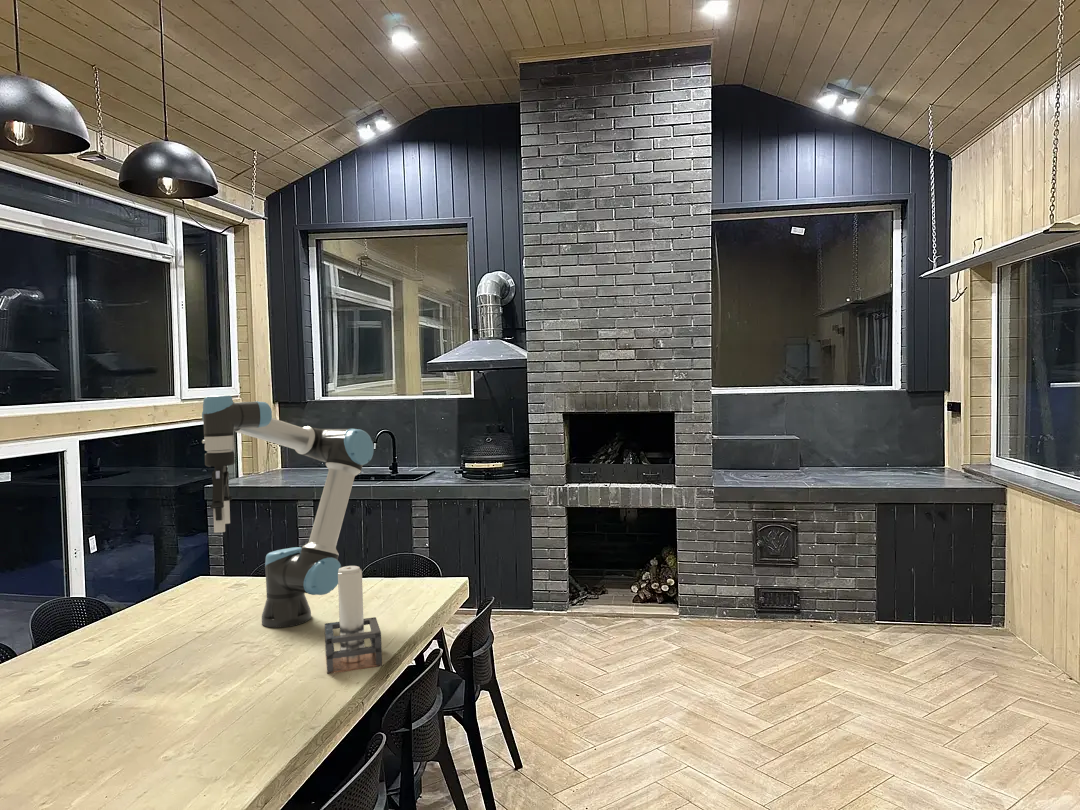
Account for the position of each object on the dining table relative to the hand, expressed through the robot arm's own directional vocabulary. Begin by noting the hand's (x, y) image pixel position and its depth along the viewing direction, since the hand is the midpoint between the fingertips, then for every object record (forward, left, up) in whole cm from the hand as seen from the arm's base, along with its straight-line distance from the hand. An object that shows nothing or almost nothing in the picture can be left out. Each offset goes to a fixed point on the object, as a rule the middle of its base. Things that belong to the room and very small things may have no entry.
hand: (222, 527), depth 197 cm
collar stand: (+15, +33, -37) cm, 52 cm away
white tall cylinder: (+15, +33, -36) cm, 51 cm away
